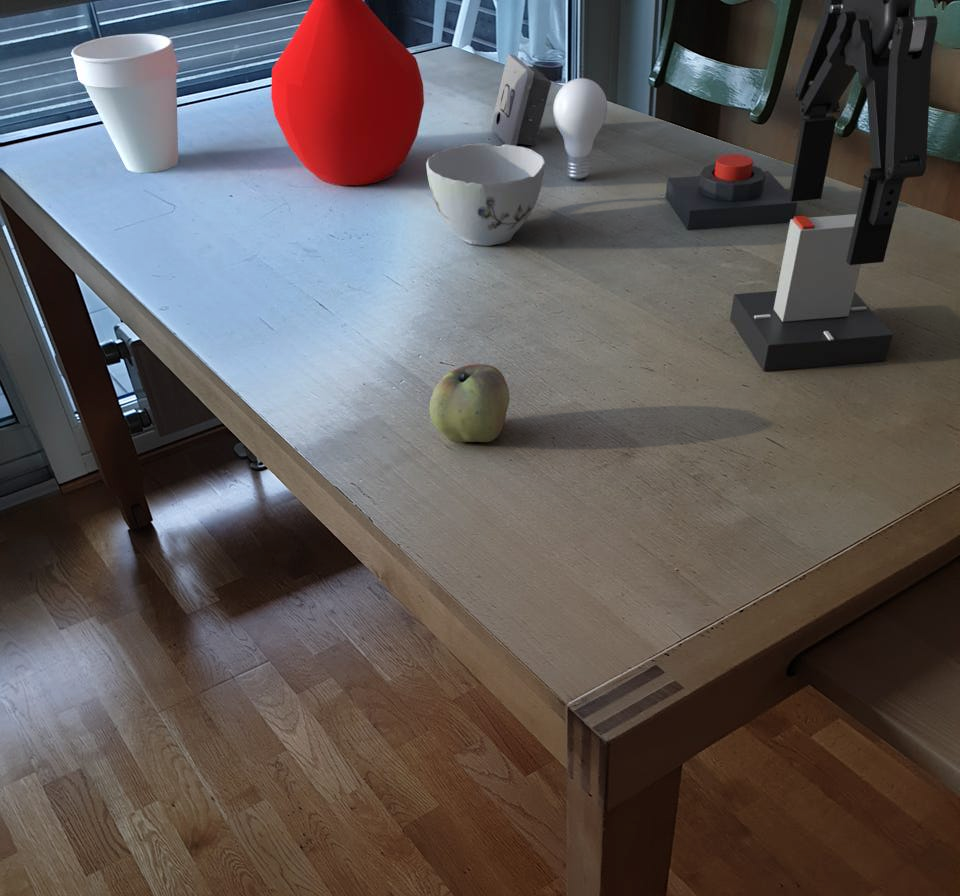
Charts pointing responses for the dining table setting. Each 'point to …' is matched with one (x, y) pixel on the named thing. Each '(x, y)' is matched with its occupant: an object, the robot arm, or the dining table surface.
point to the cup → (134, 96)
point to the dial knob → (817, 269)
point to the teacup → (485, 189)
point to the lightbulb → (579, 121)
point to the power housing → (729, 200)
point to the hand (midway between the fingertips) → (832, 228)
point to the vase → (347, 94)
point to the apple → (470, 404)
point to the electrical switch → (520, 103)
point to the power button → (733, 167)
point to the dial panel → (808, 335)
